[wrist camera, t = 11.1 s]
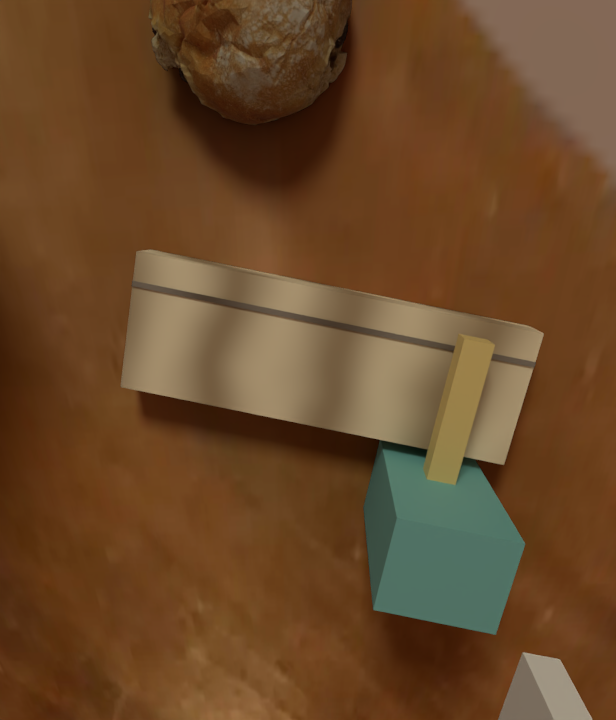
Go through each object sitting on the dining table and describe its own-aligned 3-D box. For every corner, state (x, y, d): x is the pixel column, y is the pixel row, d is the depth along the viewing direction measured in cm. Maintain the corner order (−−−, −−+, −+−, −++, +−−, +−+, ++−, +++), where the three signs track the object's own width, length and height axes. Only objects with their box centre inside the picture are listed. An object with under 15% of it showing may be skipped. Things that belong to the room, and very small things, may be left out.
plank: (135, 375, 35) (119, 387, 32) (151, 249, 33) (136, 251, 30) (492, 448, 35) (504, 465, 32) (528, 325, 33) (544, 334, 30)
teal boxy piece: (363, 507, 36) (373, 609, 26) (409, 315, 33) (439, 351, 23) (453, 525, 36) (495, 634, 26) (507, 335, 33) (578, 379, 23)
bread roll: (304, 145, 35) (364, 134, 28) (135, 108, 31) (153, 84, 23) (329, -33, 32) (401, -95, 25) (149, -99, 28) (174, -195, 21)
